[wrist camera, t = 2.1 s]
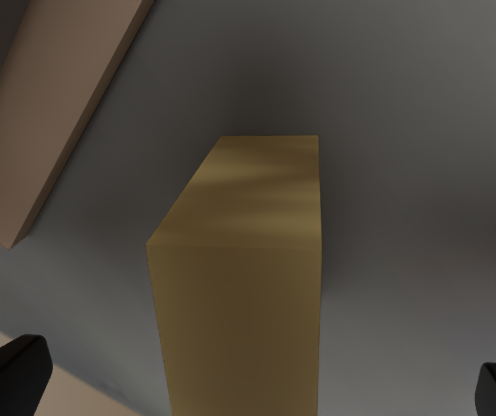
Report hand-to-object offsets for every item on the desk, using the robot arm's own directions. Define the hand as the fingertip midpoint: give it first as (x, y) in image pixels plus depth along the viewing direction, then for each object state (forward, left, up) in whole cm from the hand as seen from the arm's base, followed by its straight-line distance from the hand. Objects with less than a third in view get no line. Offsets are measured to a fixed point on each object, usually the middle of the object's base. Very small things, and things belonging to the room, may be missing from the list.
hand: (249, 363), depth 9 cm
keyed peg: (0, 0, -7) cm, 7 cm away
